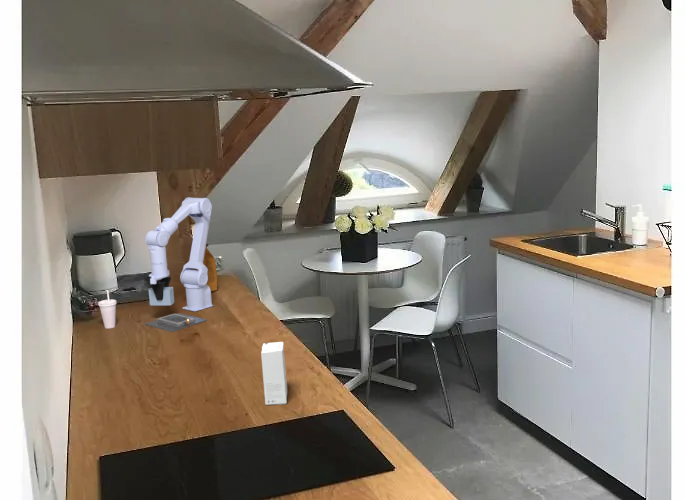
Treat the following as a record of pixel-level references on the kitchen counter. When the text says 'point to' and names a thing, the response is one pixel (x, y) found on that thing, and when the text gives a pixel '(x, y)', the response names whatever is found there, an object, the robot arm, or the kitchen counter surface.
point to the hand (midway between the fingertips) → (162, 298)
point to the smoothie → (108, 311)
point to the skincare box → (274, 373)
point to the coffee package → (210, 269)
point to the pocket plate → (175, 322)
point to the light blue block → (167, 297)
